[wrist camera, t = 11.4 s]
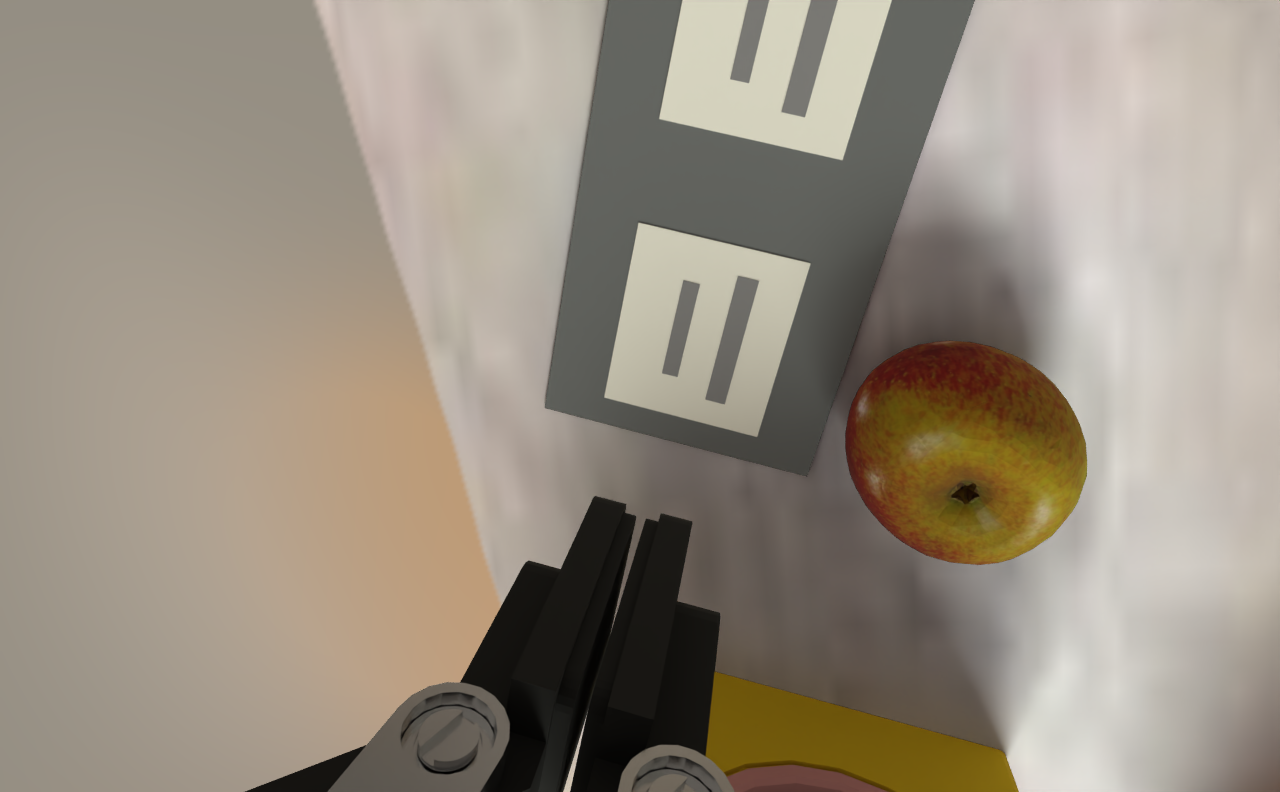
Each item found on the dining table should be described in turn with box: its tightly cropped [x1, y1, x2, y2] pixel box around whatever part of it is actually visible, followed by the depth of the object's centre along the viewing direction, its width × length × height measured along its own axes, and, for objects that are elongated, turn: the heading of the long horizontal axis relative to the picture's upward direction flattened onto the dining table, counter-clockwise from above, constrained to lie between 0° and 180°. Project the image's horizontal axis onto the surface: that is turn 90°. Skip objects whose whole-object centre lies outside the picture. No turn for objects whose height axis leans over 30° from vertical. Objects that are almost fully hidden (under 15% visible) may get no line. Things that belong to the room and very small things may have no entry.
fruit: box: [845, 341, 1087, 565], centre depth 29 cm, size 10×9×8 cm
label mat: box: [545, 0, 975, 476], centre depth 30 cm, size 26×14×1 cm, turn 168°
